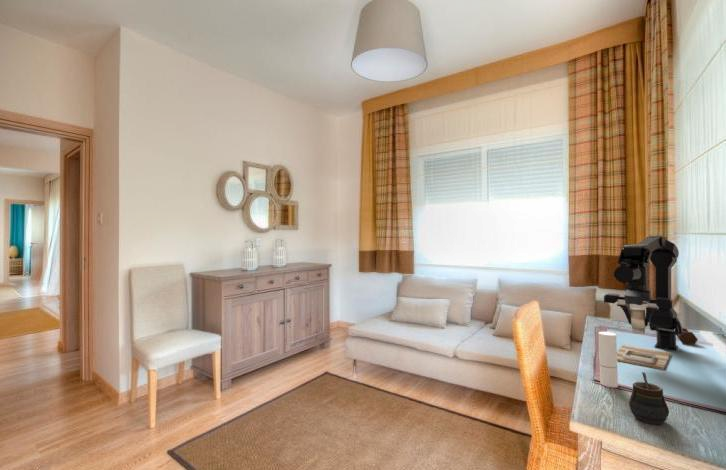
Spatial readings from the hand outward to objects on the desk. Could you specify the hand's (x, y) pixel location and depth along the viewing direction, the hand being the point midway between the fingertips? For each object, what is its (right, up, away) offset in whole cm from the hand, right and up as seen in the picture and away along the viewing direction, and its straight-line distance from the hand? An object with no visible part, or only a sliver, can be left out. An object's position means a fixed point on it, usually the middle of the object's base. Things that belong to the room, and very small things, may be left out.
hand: (638, 325), depth 121 cm
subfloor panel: (+3, -12, +3) cm, 13 cm away
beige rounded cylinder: (0, -3, 0) cm, 2 cm away
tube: (-24, -13, -19) cm, 33 cm away
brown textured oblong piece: (+37, -12, +22) cm, 45 cm away
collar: (0, -12, 0) cm, 12 cm away
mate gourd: (-29, -13, -39) cm, 50 cm away
